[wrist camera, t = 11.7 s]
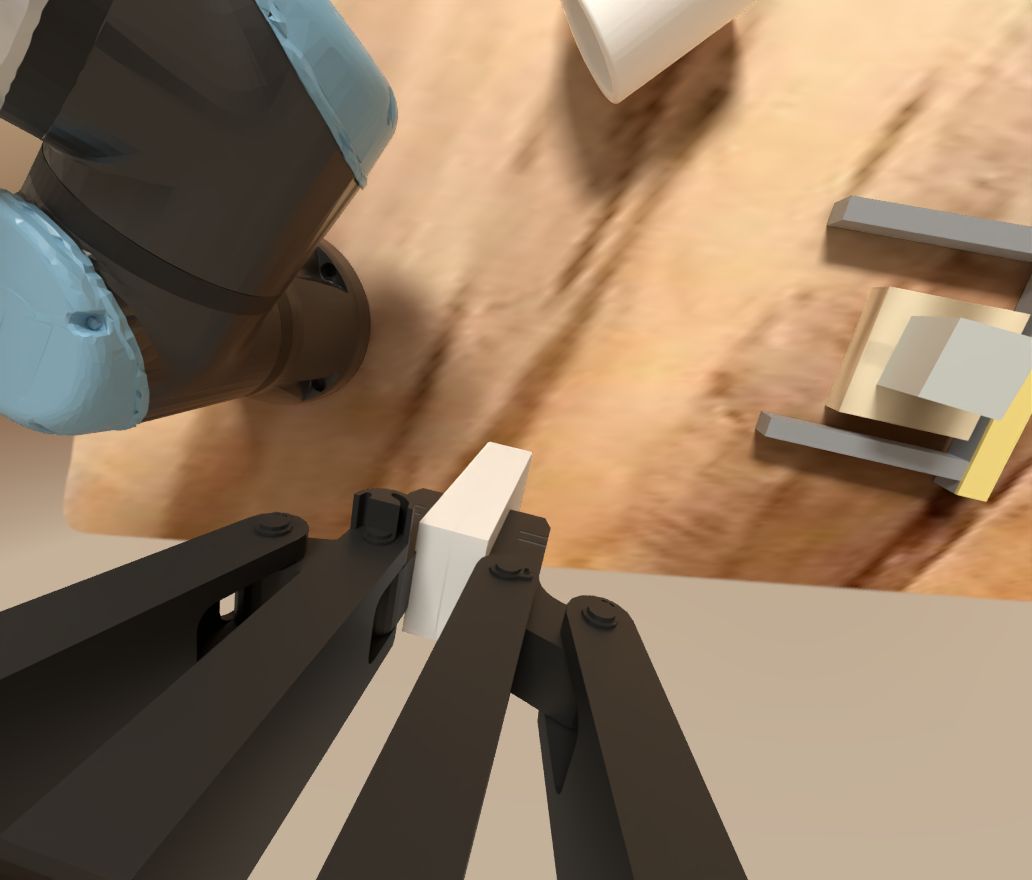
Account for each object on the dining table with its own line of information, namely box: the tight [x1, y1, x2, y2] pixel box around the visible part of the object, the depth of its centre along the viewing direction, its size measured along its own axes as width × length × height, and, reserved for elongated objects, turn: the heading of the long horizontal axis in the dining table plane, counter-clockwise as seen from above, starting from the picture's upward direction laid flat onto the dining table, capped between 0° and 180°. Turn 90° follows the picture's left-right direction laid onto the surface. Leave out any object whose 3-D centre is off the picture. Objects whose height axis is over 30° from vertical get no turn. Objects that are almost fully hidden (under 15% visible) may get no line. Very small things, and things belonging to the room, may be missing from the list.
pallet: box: [825, 287, 1031, 441], centre depth 36 cm, size 9×9×3 cm
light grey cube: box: [877, 316, 1032, 421], centre depth 32 cm, size 5×5×5 cm
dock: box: [755, 196, 1032, 501], centre depth 36 cm, size 16×19×3 cm
